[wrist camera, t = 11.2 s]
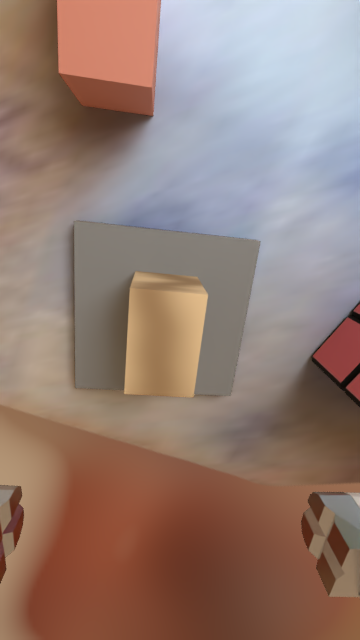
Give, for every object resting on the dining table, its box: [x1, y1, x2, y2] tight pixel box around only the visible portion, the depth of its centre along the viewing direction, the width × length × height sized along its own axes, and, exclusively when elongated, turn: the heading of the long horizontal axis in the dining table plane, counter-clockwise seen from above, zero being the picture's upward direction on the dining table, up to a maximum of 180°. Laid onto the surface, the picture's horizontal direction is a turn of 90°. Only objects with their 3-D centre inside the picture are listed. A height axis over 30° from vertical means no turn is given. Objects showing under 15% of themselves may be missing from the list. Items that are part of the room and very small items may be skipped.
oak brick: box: [124, 271, 208, 397], centre depth 21 cm, size 4×7×5 cm, turn 174°
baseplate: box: [74, 221, 261, 396], centre depth 24 cm, size 13×13×1 cm
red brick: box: [57, 0, 161, 116], centre depth 16 cm, size 4×7×5 cm, turn 174°
